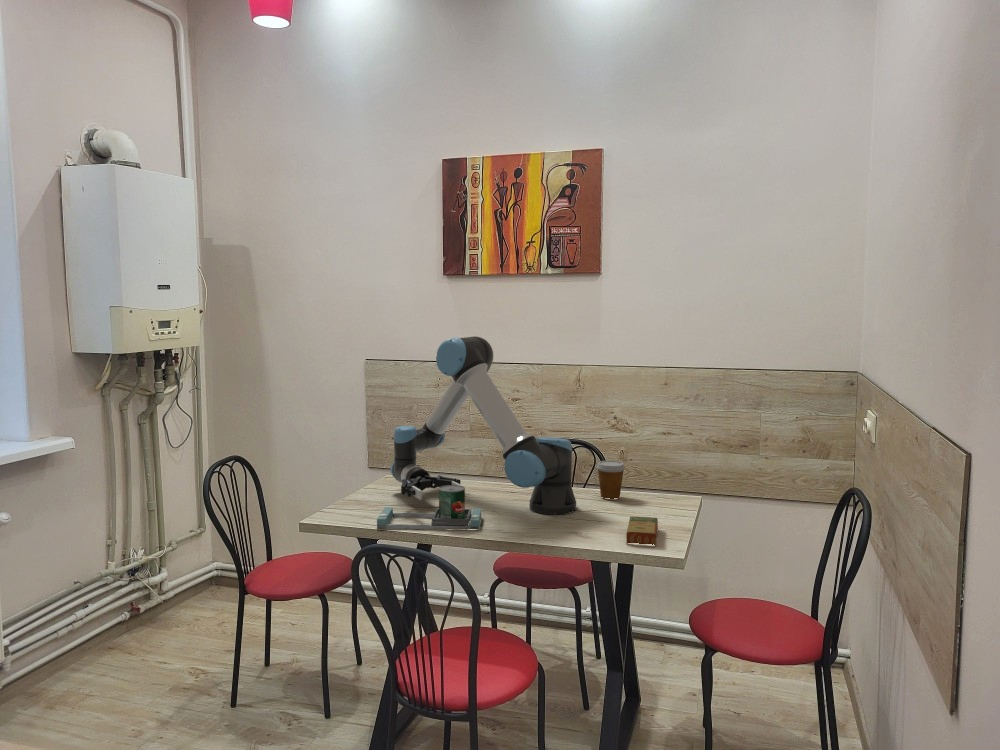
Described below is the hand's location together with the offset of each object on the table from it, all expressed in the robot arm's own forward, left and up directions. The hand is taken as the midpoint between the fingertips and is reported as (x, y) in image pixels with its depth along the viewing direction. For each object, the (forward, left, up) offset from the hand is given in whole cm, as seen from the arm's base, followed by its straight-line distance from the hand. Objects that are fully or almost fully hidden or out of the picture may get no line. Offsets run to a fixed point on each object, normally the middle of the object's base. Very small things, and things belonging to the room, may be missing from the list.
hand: (441, 492), depth 236 cm
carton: (-59, +16, -9) cm, 62 cm away
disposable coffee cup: (-55, -26, -8) cm, 61 cm away
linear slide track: (+3, +6, -8) cm, 10 cm away
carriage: (-4, +6, -6) cm, 10 cm away
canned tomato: (-4, +6, -8) cm, 11 cm away
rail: (+3, +6, -8) cm, 10 cm away
